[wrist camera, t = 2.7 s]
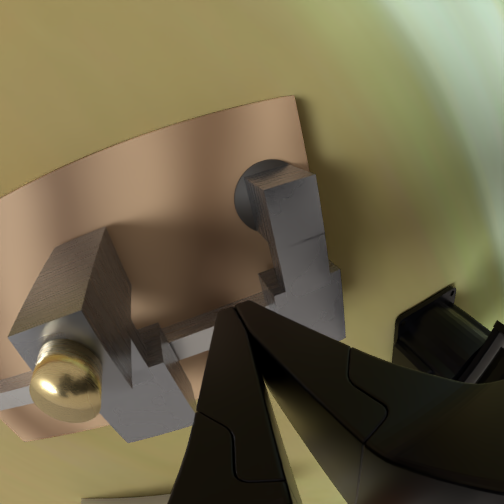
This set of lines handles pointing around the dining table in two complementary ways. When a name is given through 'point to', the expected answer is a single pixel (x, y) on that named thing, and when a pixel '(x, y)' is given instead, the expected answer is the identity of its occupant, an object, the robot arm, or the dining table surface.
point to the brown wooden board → (151, 227)
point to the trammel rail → (272, 280)
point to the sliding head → (98, 346)
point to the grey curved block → (130, 500)
